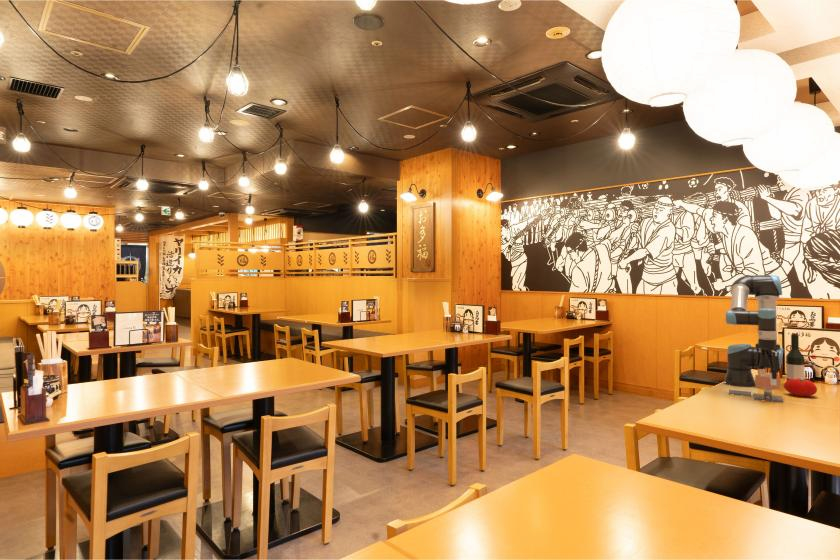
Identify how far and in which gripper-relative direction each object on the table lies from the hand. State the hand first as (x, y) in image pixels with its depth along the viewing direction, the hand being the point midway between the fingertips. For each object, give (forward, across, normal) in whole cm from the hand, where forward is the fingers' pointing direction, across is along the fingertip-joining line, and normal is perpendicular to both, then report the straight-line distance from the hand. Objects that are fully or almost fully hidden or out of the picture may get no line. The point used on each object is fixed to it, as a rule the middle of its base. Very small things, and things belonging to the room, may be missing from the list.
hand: (767, 383), depth 252 cm
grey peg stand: (+8, 0, 0) cm, 8 cm away
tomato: (+8, -8, +22) cm, 25 cm away
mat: (+8, -12, -7) cm, 16 cm away
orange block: (+2, 0, 0) cm, 2 cm away
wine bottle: (+9, -32, +36) cm, 49 cm away
